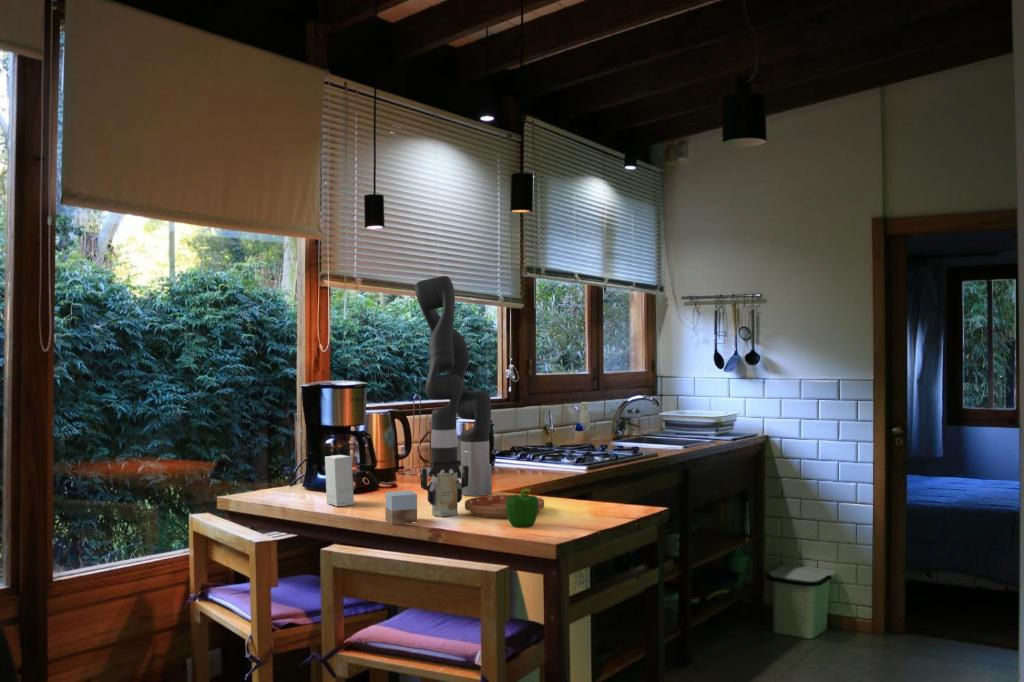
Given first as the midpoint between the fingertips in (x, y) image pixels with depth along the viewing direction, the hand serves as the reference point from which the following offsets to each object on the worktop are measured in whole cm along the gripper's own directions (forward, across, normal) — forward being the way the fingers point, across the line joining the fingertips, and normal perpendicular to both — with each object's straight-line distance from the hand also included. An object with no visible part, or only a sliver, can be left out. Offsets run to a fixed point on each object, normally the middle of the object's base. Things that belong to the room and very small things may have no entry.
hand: (444, 503), depth 260 cm
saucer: (+4, -17, +3) cm, 18 cm away
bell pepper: (+4, -14, +23) cm, 27 cm away
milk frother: (+4, -23, -69) cm, 73 cm away
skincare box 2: (+4, 0, 0) cm, 4 cm away
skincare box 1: (+4, +24, -30) cm, 39 cm away
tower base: (+4, +14, +4) cm, 15 cm away
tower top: (0, +14, +4) cm, 14 cm away
